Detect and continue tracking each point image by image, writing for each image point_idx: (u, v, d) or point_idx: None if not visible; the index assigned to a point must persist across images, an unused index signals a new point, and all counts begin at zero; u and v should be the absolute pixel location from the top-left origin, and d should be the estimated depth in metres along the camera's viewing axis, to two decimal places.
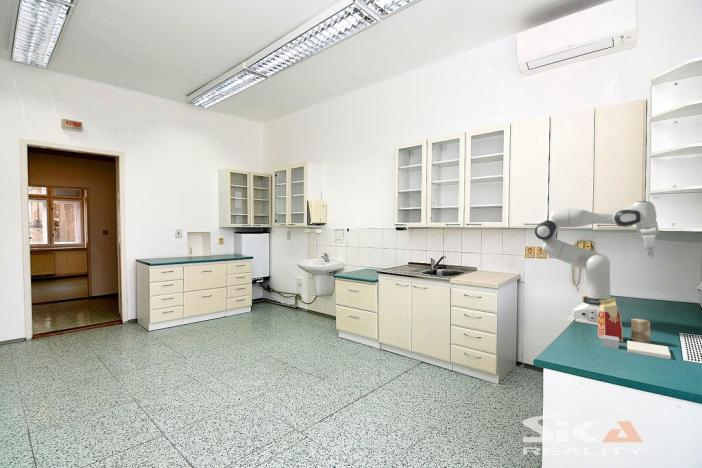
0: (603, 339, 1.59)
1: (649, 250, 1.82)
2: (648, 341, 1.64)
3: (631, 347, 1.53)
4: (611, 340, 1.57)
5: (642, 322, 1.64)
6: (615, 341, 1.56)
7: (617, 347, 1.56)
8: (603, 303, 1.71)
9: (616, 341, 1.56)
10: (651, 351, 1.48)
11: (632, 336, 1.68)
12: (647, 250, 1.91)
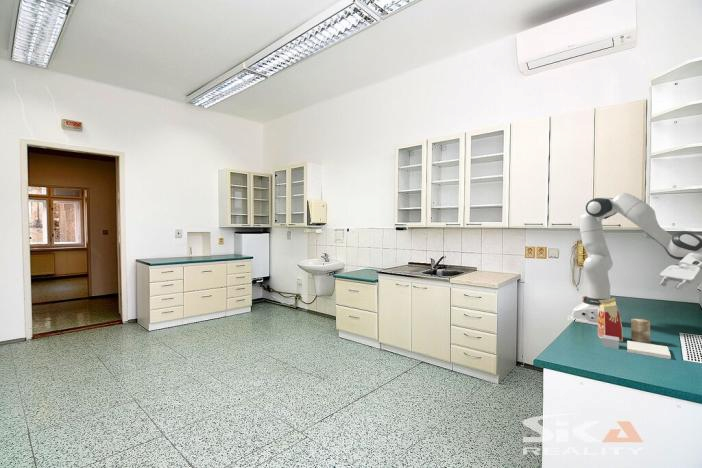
0: (603, 339, 1.59)
1: (685, 282, 1.58)
2: (648, 341, 1.64)
3: (631, 347, 1.53)
4: (611, 340, 1.57)
5: (642, 322, 1.64)
6: (615, 341, 1.56)
7: (617, 347, 1.56)
8: (603, 303, 1.71)
9: (616, 341, 1.56)
10: (651, 351, 1.48)
11: (632, 336, 1.68)
12: (663, 279, 1.70)
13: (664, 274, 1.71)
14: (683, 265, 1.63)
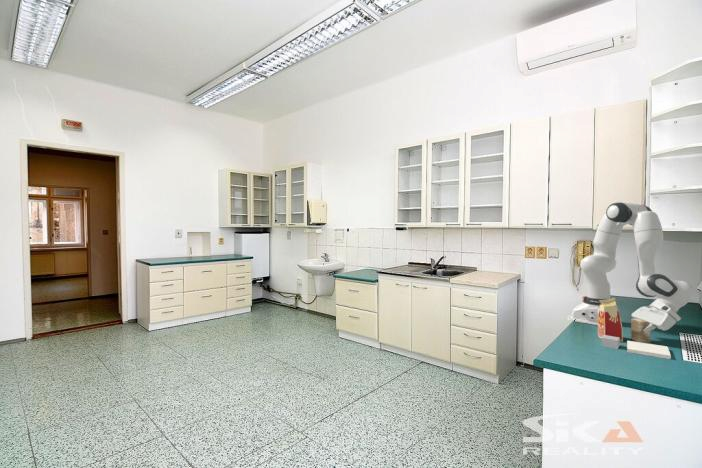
0: (602, 339, 1.59)
1: (651, 326, 1.61)
2: (648, 341, 1.64)
3: (631, 347, 1.53)
4: (610, 340, 1.57)
5: (642, 322, 1.64)
6: (614, 341, 1.56)
7: (616, 347, 1.56)
8: (603, 303, 1.71)
9: (615, 341, 1.56)
10: (651, 351, 1.48)
11: (632, 336, 1.68)
12: None
13: (635, 315, 1.72)
14: (653, 309, 1.65)
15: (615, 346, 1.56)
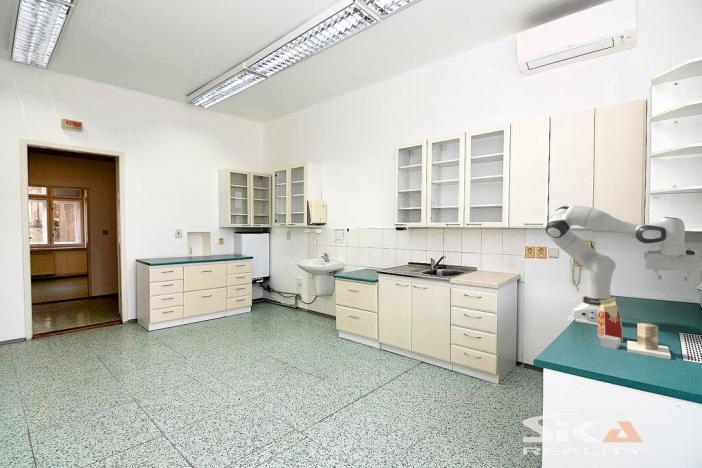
0: (601, 338, 1.60)
1: None
2: (656, 348, 1.50)
3: (631, 347, 1.53)
4: (609, 340, 1.58)
5: (649, 327, 1.50)
6: (613, 341, 1.56)
7: (615, 347, 1.56)
8: (603, 303, 1.71)
9: (614, 341, 1.56)
10: (651, 351, 1.48)
11: (638, 342, 1.55)
12: (657, 273, 1.69)
13: (654, 268, 1.69)
14: (674, 256, 1.64)
15: (614, 346, 1.56)
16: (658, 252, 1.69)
